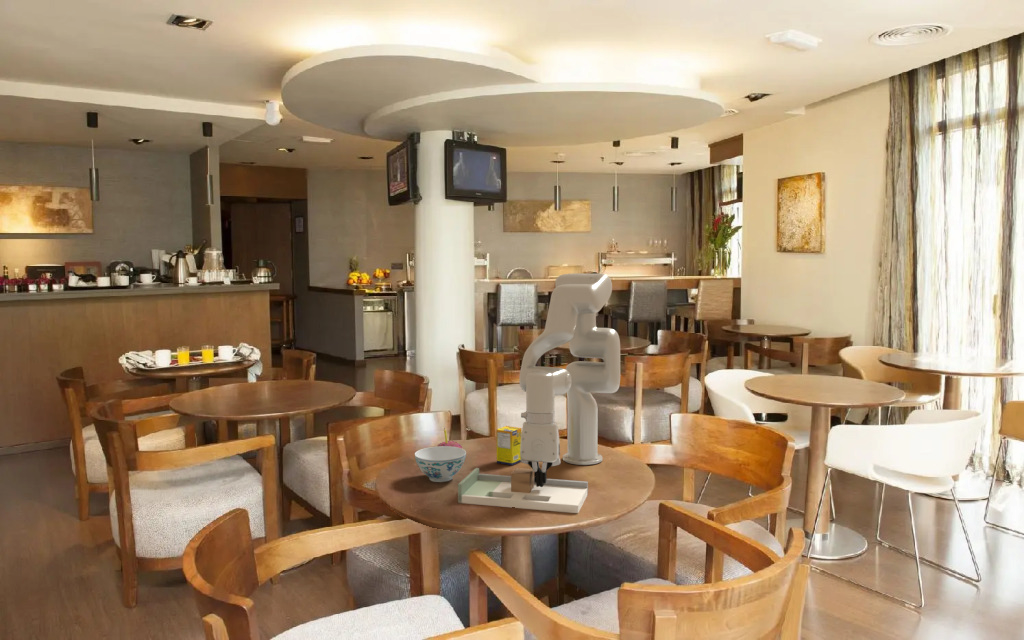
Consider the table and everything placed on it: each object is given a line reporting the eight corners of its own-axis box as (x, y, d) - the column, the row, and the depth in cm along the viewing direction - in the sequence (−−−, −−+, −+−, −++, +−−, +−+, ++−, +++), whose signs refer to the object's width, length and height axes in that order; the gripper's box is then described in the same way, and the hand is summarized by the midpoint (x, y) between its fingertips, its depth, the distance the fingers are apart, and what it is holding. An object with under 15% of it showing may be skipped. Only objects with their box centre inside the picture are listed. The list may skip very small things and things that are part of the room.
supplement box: (522, 461, 223) (522, 427, 222) (512, 466, 218) (511, 431, 217) (506, 458, 226) (506, 425, 226) (496, 463, 221) (495, 429, 220)
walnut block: (515, 485, 192) (515, 468, 192) (533, 487, 191) (533, 469, 191) (511, 491, 188) (511, 473, 187) (529, 493, 186) (529, 474, 186)
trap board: (476, 485, 200) (475, 468, 199) (587, 494, 191) (587, 476, 191) (458, 502, 185) (457, 484, 185) (578, 513, 177) (578, 493, 176)
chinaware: (477, 477, 206) (476, 452, 206) (438, 490, 196) (437, 463, 195) (443, 468, 217) (442, 443, 216) (404, 479, 206) (404, 453, 205)
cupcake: (451, 469, 215) (451, 430, 214) (430, 465, 220) (429, 427, 219) (468, 462, 223) (467, 425, 222) (446, 458, 227) (446, 422, 226)
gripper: (509, 419, 185) (509, 487, 187) (565, 422, 181) (565, 491, 183) (516, 413, 192) (516, 479, 194) (570, 416, 189) (570, 483, 190)
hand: (540, 485), depth 188 cm, fingers closed
